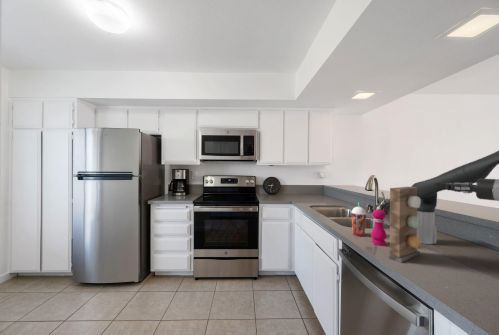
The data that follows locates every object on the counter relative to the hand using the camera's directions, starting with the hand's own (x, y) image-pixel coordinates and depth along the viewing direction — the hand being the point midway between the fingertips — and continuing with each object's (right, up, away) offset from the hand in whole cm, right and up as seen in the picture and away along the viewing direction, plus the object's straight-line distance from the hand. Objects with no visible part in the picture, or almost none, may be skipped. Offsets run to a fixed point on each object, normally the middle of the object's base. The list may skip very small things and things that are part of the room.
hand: (435, 185), depth 90 cm
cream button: (-4, -10, +7) cm, 13 cm away
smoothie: (-11, -34, +41) cm, 55 cm away
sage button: (-4, -19, +7) cm, 21 cm away
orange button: (-4, -28, +7) cm, 30 cm away
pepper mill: (-8, -34, +27) cm, 44 cm away
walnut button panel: (-6, -34, +10) cm, 36 cm away
